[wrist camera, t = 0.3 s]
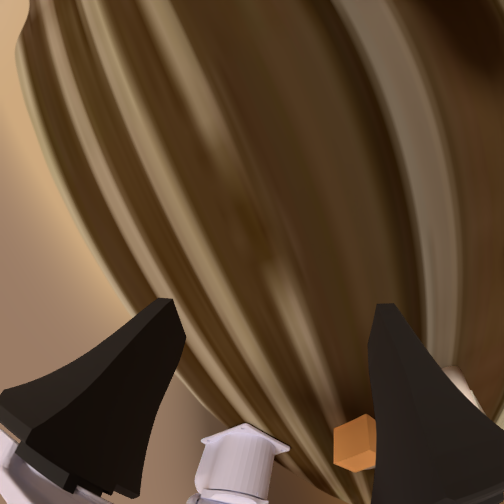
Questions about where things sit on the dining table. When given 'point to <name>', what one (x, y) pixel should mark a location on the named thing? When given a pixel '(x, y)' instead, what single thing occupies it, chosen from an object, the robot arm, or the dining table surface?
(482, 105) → the dining table surface
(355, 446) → the block
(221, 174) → the dining table surface
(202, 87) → the dining table surface
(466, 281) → the dining table surface
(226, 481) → the robot arm
